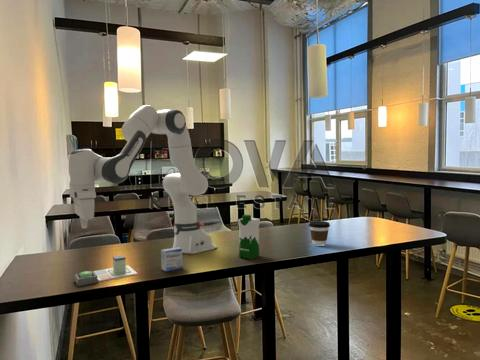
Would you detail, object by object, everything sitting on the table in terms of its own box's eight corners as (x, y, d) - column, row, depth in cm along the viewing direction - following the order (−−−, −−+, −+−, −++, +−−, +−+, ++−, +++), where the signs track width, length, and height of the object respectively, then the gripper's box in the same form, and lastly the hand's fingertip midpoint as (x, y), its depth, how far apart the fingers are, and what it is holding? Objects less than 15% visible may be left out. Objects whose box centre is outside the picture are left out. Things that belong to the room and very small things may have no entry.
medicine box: (165, 272, 153) (165, 251, 153) (161, 269, 157) (160, 249, 156) (182, 268, 158) (182, 248, 157) (178, 265, 162) (177, 246, 161)
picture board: (128, 266, 161) (128, 264, 161) (137, 274, 151) (137, 272, 150) (91, 272, 153) (91, 271, 153) (98, 281, 142) (98, 280, 142)
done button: (91, 277, 146) (90, 270, 146) (93, 281, 142) (93, 273, 142) (79, 280, 144) (78, 272, 143) (81, 283, 140) (80, 275, 140)
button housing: (93, 277, 148) (93, 271, 148) (97, 282, 142) (97, 275, 142) (74, 280, 144) (74, 274, 144) (78, 286, 138) (77, 279, 138)
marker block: (123, 269, 156) (122, 255, 155) (125, 271, 152) (125, 257, 152) (113, 270, 154) (112, 256, 153) (115, 273, 150) (115, 258, 150)
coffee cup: (304, 245, 194) (304, 222, 193) (317, 241, 202) (317, 220, 201) (321, 249, 186) (321, 225, 185) (334, 245, 193) (334, 222, 193)
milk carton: (236, 257, 173) (235, 215, 171) (246, 253, 180) (246, 212, 179) (252, 260, 168) (251, 217, 166) (262, 256, 175) (262, 214, 174)
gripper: (69, 190, 148) (71, 224, 149) (78, 194, 130) (79, 233, 131) (86, 189, 151) (87, 222, 152) (96, 193, 134) (98, 231, 135)
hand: (84, 227), depth 141 cm, fingers closed
